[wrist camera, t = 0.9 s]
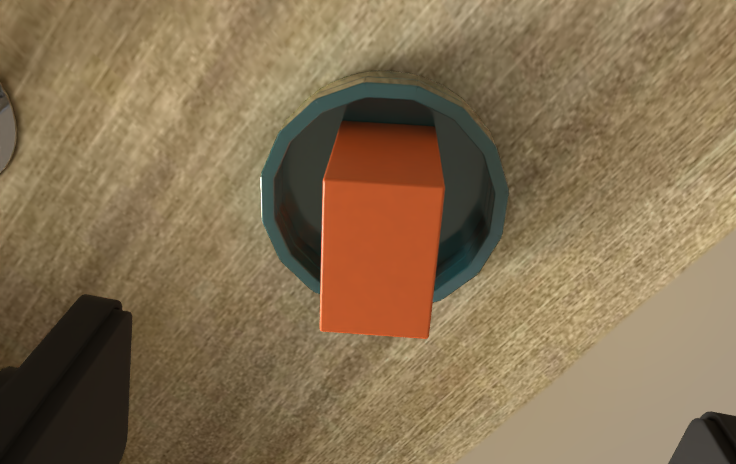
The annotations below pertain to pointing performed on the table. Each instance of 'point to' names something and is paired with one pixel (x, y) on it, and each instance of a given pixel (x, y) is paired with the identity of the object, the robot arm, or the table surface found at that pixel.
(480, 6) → the table surface
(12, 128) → the wine glass
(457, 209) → the dish
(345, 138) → the block
